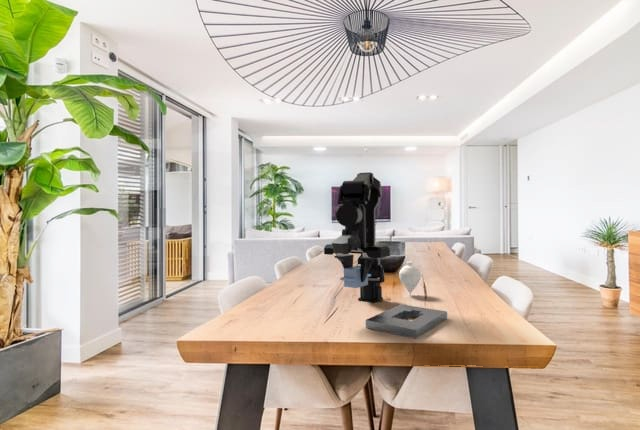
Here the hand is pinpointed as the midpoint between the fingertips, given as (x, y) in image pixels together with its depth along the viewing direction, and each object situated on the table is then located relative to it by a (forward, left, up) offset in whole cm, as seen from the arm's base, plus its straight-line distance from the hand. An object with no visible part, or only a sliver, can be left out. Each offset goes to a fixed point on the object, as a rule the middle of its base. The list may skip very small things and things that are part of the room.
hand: (356, 281), depth 103 cm
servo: (0, 0, -1) cm, 1 cm away
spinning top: (-1, +36, -11) cm, 38 cm away
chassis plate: (+13, +5, -11) cm, 18 cm away
